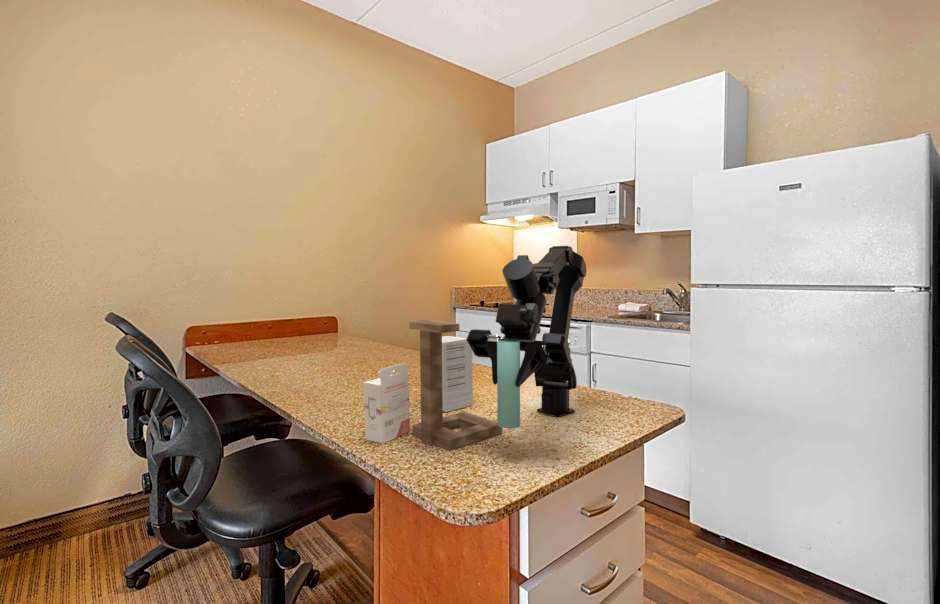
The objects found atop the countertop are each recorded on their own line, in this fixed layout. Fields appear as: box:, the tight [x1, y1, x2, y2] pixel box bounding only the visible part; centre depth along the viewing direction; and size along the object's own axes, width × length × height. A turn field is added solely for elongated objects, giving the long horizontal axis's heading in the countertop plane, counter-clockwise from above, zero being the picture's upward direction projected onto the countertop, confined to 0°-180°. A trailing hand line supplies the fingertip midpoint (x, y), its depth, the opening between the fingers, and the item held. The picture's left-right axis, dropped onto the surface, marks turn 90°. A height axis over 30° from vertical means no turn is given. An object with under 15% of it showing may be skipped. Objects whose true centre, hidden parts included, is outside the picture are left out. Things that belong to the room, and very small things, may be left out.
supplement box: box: [442, 335, 474, 413], centre depth 119 cm, size 10×9×17 cm
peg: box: [496, 340, 521, 430], centre depth 85 cm, size 4×4×15 cm
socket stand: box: [408, 319, 503, 452], centre depth 97 cm, size 15×12×23 cm
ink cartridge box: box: [362, 362, 411, 444], centre depth 97 cm, size 9×5×15 cm, turn 148°
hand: (505, 384), depth 83 cm, fingers closed on peg, 4 cm apart
